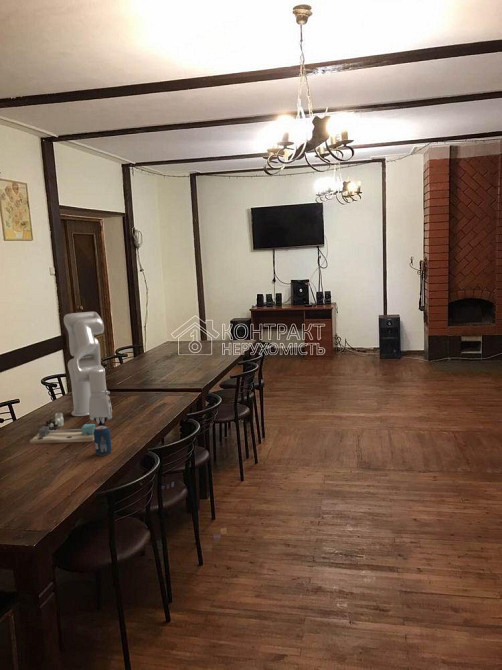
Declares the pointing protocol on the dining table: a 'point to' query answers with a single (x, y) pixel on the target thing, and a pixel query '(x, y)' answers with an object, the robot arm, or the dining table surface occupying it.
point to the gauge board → (60, 436)
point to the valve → (56, 421)
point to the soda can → (102, 440)
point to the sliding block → (88, 429)
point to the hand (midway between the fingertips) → (102, 430)
